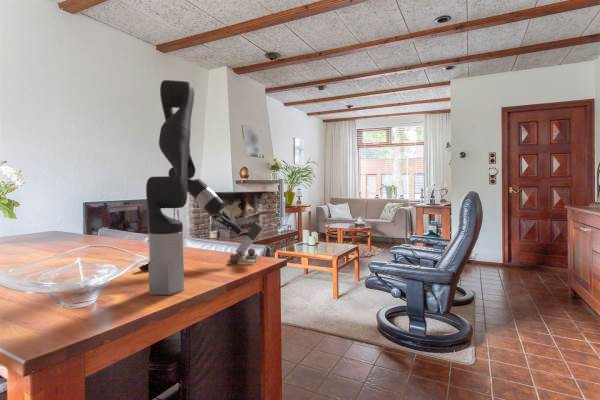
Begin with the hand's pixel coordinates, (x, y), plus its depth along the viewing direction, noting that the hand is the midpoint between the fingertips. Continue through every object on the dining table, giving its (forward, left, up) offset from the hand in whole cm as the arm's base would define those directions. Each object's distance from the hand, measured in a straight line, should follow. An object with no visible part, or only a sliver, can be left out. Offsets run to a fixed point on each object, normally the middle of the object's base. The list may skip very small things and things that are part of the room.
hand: (240, 232), depth 136 cm
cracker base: (0, -1, -11) cm, 12 cm away
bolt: (-13, +27, -12) cm, 32 cm away
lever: (0, +1, -9) cm, 9 cm away
